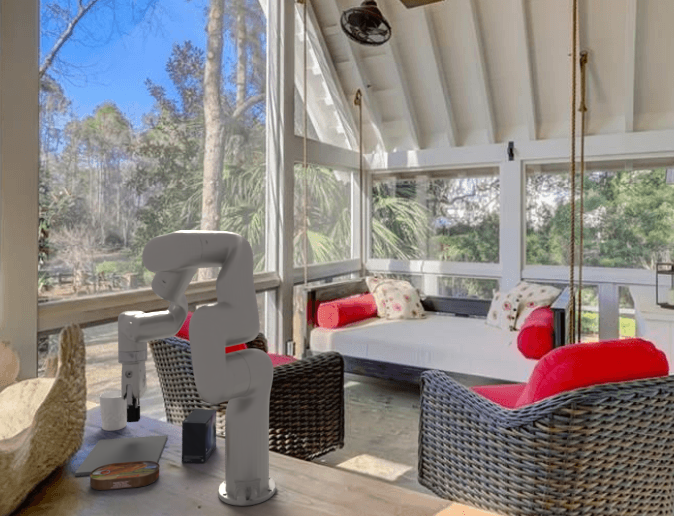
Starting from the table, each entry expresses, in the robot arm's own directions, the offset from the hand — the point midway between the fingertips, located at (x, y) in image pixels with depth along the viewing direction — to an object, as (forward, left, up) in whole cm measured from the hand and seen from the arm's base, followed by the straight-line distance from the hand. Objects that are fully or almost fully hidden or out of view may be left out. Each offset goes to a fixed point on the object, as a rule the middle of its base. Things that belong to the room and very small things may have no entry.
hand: (133, 420), depth 137 cm
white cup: (+12, +8, -6) cm, 16 cm away
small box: (-13, -19, -6) cm, 24 cm away
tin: (-20, -3, -5) cm, 21 cm away
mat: (-10, 0, -6) cm, 11 cm away
